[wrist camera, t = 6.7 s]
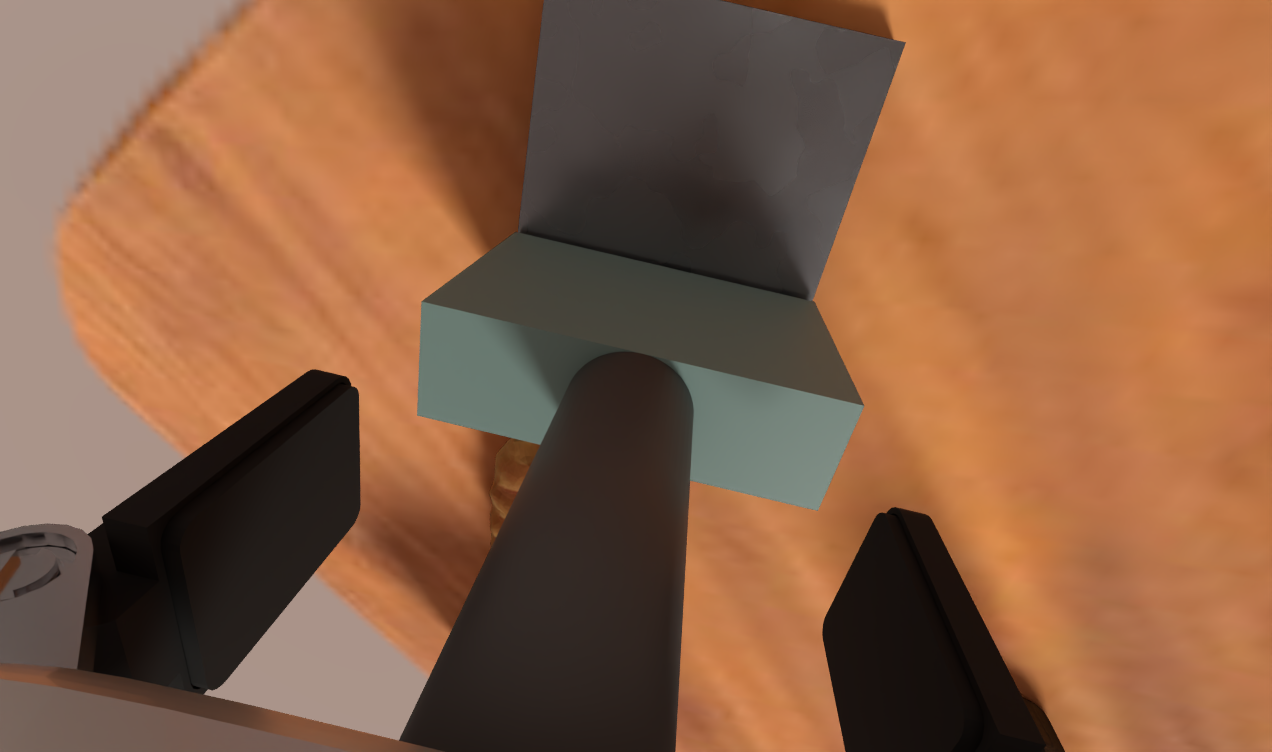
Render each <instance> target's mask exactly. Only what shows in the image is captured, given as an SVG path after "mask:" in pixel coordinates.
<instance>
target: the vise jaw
mask: <svg viewBox="0 0 1272 752" xmlns="http://www.w3.org/2000/svg"><path fill="white" fill-rule="evenodd" d="M863 408H864V404H863V402H862V400H861V398H860V396H859V394H858V392H857V390H856V388H855V385H854V383H853V381H852V379H851V377H850V375H849V373H848V371H847V369H846V367H845V365H844V362H843V360H842V358H841V356H840V354H839V352H838V350H837V348H836V346H835V344H834V342H833V339H832V337H831V335H830V333H829V331H828V329H827V327H826V325H825V323H824V321H823V319H822V316H821V314H820V312H819V310H818V308H817V306H816V304H815V302H813V301H809V300H805V299H800V298H796V297H792V296H787V295H783V294H779V293H775V292H770V291H766V290H762V289H757V288H753V287H749V286H745V285H740V284H736V283H732V282H728V281H723V280H719V279H715V278H710V277H706V276H702V275H698V274H693V273H689V272H685V271H681V270H676V269H672V268H668V267H663V266H659V265H655V264H651V263H646V262H642V261H638V260H633V259H629V258H625V257H621V256H616V255H612V254H608V253H604V252H599V251H595V250H591V249H586V248H582V247H578V246H574V245H569V244H565V243H561V242H557V241H552V240H548V239H544V238H539V237H535V236H531V235H527V234H522V233H518V232H515V233H513V234H512V235H511V236H509V237H508V238H507V239H505V240H504V241H503V242H501V243H500V244H499V245H497V246H496V247H494V248H493V249H492V250H490V251H489V252H488V253H486V254H485V255H484V256H482V257H481V258H480V259H478V260H477V261H476V262H474V263H473V264H472V265H470V266H469V267H467V268H466V269H465V270H463V271H462V272H461V273H459V274H458V275H457V276H455V277H454V278H453V279H451V280H450V281H449V282H447V283H446V284H445V285H443V286H442V287H441V288H439V289H438V290H436V291H435V292H434V293H432V294H431V295H430V296H428V297H427V298H426V299H424V300H423V301H422V304H421V330H420V356H419V382H418V408H417V416H422V417H426V418H430V419H434V420H438V421H443V422H447V423H451V424H455V425H459V426H464V427H468V428H472V429H476V430H480V431H485V432H489V433H493V434H497V435H501V436H506V437H510V438H514V439H518V440H522V441H527V442H531V443H535V444H539V445H540V447H539V449H538V451H537V453H536V455H535V457H534V459H533V461H532V463H531V465H530V467H529V470H528V472H527V474H526V476H525V478H524V480H523V482H522V484H521V486H520V488H519V490H518V493H517V495H516V497H515V499H514V501H513V503H512V505H511V507H510V509H509V511H508V513H507V516H506V518H505V520H504V522H503V524H502V526H501V528H500V530H499V532H498V534H497V536H496V539H495V541H494V543H493V545H492V547H491V549H490V551H489V553H488V555H487V557H486V559H485V562H484V564H483V566H482V568H481V570H480V572H479V574H478V576H477V578H476V580H475V582H474V585H473V587H472V589H471V591H470V593H469V595H468V597H467V599H466V601H465V603H464V605H463V608H462V610H461V612H460V614H459V616H458V618H457V620H456V622H455V624H454V626H453V628H452V631H451V633H450V635H449V637H448V639H447V641H446V643H445V645H444V647H443V649H442V652H441V654H440V656H439V658H438V660H437V662H436V664H435V666H434V668H433V670H432V672H431V675H430V677H429V679H428V681H427V683H426V685H425V687H424V689H423V691H422V693H421V695H420V698H419V700H418V702H417V704H416V706H415V708H414V710H413V712H412V714H411V716H410V718H409V721H408V723H407V725H406V727H405V729H404V731H403V733H402V735H401V737H400V740H399V741H402V742H407V743H411V744H415V745H419V746H423V747H427V748H431V749H436V750H440V751H444V752H675V747H676V729H677V710H678V692H679V674H680V655H681V637H682V619H683V600H684V582H685V564H686V545H687V527H688V509H689V490H690V481H695V482H699V483H703V484H707V485H711V486H715V487H720V488H724V489H728V490H732V491H736V492H741V493H745V494H749V495H753V496H757V497H762V498H766V499H770V500H774V501H778V502H783V503H787V504H791V505H795V506H799V507H804V508H808V509H812V510H816V511H818V509H819V507H820V505H821V502H822V500H823V498H824V496H825V493H826V491H827V489H828V487H829V484H830V482H831V480H832V478H833V475H834V473H835V471H836V469H837V466H838V464H839V462H840V460H841V457H842V455H843V453H844V451H845V448H846V446H847V444H848V442H849V439H850V437H851V435H852V432H853V430H854V428H855V426H856V423H857V421H858V419H859V417H860V414H861V412H862V410H863Z"/></svg>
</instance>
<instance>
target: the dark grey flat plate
mask: <svg viewBox="0 0 1272 752" xmlns="http://www.w3.org/2000/svg"><path fill="white" fill-rule="evenodd" d="M905 43H906V42H901V41H897V40H892V39H888V38H884V37H879V36H875V35H871V34H866V33H862V32H857V31H853V30H849V29H844V28H840V27H835V26H831V25H827V24H822V23H818V22H814V21H809V20H805V19H800V18H796V17H792V16H787V15H783V14H778V13H774V12H770V11H765V10H761V9H757V8H752V7H748V6H743V5H739V4H735V3H730V2H726V1H722V0H544V4H543V13H542V22H541V31H540V39H539V48H538V57H537V66H536V75H535V84H534V93H533V102H532V111H531V120H530V129H529V138H528V147H527V156H526V165H525V174H524V183H523V192H522V201H521V209H520V218H519V227H518V233H522V234H527V235H531V236H535V237H539V238H544V239H548V240H552V241H557V242H561V243H565V244H569V245H574V246H578V247H582V248H586V249H591V250H595V251H599V252H604V253H608V254H612V255H616V256H621V257H625V258H629V259H633V260H638V261H642V262H646V263H651V264H655V265H659V266H663V267H668V268H672V269H676V270H681V271H685V272H689V273H693V274H698V275H702V276H706V277H710V278H715V279H719V280H723V281H728V282H732V283H736V284H740V285H745V286H749V287H753V288H757V289H762V290H766V291H770V292H775V293H779V294H783V295H787V296H792V297H796V298H800V299H805V300H809V301H812V300H813V298H814V295H815V292H816V289H817V287H818V284H819V281H820V278H821V276H822V273H823V270H824V267H825V264H826V262H827V259H828V256H829V253H830V251H831V248H832V245H833V242H834V240H835V237H836V234H837V231H838V228H839V226H840V223H841V220H842V217H843V215H844V212H845V209H846V206H847V204H848V201H849V198H850V195H851V193H852V190H853V187H854V184H855V181H856V179H857V176H858V173H859V170H860V168H861V165H862V162H863V159H864V157H865V154H866V151H867V148H868V145H869V143H870V140H871V137H872V134H873V132H874V129H875V126H876V123H877V121H878V118H879V115H880V112H881V109H882V107H883V104H884V101H885V98H886V96H887V93H888V90H889V87H890V85H891V82H892V79H893V76H894V74H895V71H896V68H897V65H898V62H899V60H900V57H901V54H902V51H903V49H904V46H905Z"/></svg>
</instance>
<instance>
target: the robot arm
mask: <svg viewBox="0 0 1272 752" xmlns="http://www.w3.org/2000/svg"><path fill="white" fill-rule="evenodd" d="M359 511H360V438H359V393H358V390H357V388H355V387H352V386H351V383H350V381H349V379H348V378H347V377H345V376H341V375H337V374H333V373H329V372H324V371H320V370H310V371H308V372H306V373H305V374H304V375H302V376H301V377H299V378H298V379H296V380H295V381H294V382H292V383H291V384H289V385H288V386H287V387H285V388H284V389H282V390H281V391H279V392H278V393H277V394H275V395H274V396H272V397H271V398H270V399H268V400H267V401H265V402H264V403H262V404H261V405H260V406H258V407H257V408H255V409H254V410H253V411H251V412H250V413H248V414H247V415H245V416H244V417H243V418H241V419H240V420H238V421H237V422H235V423H234V424H233V425H231V426H230V427H228V428H227V429H226V430H224V431H223V432H221V433H220V434H218V435H217V436H216V437H214V438H213V439H211V440H210V441H209V442H207V443H206V444H204V445H203V446H201V447H200V448H199V449H197V450H196V451H194V452H193V453H192V454H190V455H189V456H187V457H186V458H184V459H183V460H182V461H180V462H179V463H177V464H176V465H175V466H173V467H172V468H171V469H169V470H167V471H166V472H165V473H163V474H162V475H160V476H159V477H158V478H156V479H155V480H153V481H152V482H151V483H149V484H148V485H146V486H145V487H143V488H142V489H141V490H139V491H138V492H136V493H135V494H133V495H132V496H131V497H129V498H128V499H126V500H125V501H123V502H122V503H121V504H119V505H118V506H116V507H115V508H114V509H112V510H111V511H109V512H108V513H106V514H105V515H104V516H103V517H102V520H103V524H101V525H100V526H99V527H97V528H96V529H94V530H93V531H92V532H90V533H89V534H86V533H85V532H84V531H83V530H81V529H78V528H75V527H72V526H69V525H60V524H39V525H29V526H22V527H18V528H14V529H10V530H6V531H2V532H0V752H444V751H440V750H436V749H431V748H427V747H423V746H419V745H415V744H411V743H407V742H402V741H398V740H394V739H390V738H386V737H381V736H377V735H373V734H368V733H365V732H360V731H356V730H352V729H348V728H344V727H340V726H335V725H331V724H327V723H323V722H319V721H314V720H310V719H306V718H302V717H298V716H293V715H289V714H285V713H280V712H277V711H272V710H268V709H264V708H260V707H256V706H252V705H247V704H243V703H239V702H234V701H229V700H225V699H221V698H216V697H211V696H207V695H203V694H204V693H205V692H206V691H207V690H208V689H210V690H215V689H217V688H218V687H220V686H221V685H222V684H223V683H224V682H225V681H226V680H227V679H228V678H229V676H230V675H231V674H232V673H233V672H234V670H235V669H236V668H237V667H238V665H239V664H240V663H241V662H242V661H243V659H244V658H245V657H246V656H247V654H248V653H249V652H250V651H251V650H252V648H253V647H254V646H255V644H256V643H257V642H258V641H259V640H260V638H261V637H262V636H263V635H264V634H265V632H266V631H267V630H268V629H269V627H270V626H271V625H272V624H273V623H274V621H275V620H276V619H277V618H278V616H279V615H280V614H281V613H282V612H283V610H284V609H285V608H286V607H287V605H288V604H289V603H290V602H291V601H292V599H293V598H294V597H295V596H296V594H297V593H298V592H299V591H300V590H301V588H302V587H303V586H304V585H305V583H306V582H307V581H308V580H309V579H310V577H311V576H312V575H313V574H314V572H315V571H316V570H317V569H318V568H319V566H320V565H321V564H322V563H323V561H324V560H325V559H326V558H327V557H328V555H329V554H330V553H331V552H332V550H333V549H334V548H335V547H336V546H337V544H338V543H339V542H340V541H341V539H342V538H343V537H344V536H345V535H346V533H347V532H348V531H349V530H350V528H351V527H352V526H353V524H354V523H355V521H356V519H357V517H358V514H359ZM823 642H824V647H825V652H826V657H827V662H828V667H829V672H830V677H831V682H832V687H833V692H834V697H835V701H836V706H837V711H838V716H839V721H840V726H841V731H842V736H843V741H844V746H845V751H846V752H1046V751H1045V749H1044V748H1045V746H1046V743H1045V741H1044V739H1043V737H1042V735H1041V733H1040V731H1039V729H1038V727H1037V726H1036V724H1035V722H1034V720H1033V718H1032V716H1031V714H1030V712H1029V710H1028V708H1027V706H1026V704H1025V702H1024V700H1023V698H1022V696H1021V694H1020V692H1019V690H1018V688H1017V686H1016V684H1015V682H1014V680H1013V678H1012V676H1011V674H1010V672H1009V670H1008V669H1007V667H1006V665H1005V663H1004V661H1003V659H1002V657H1001V655H1000V653H999V651H998V649H997V647H996V645H995V643H994V641H993V639H992V637H991V635H990V633H989V631H988V629H987V627H986V625H985V623H984V621H983V619H982V617H981V615H980V614H979V612H978V610H977V608H976V606H975V604H974V602H973V600H972V598H971V596H970V594H969V592H968V590H967V588H966V586H965V584H964V582H963V580H962V578H961V576H960V574H959V572H958V570H957V568H956V566H955V564H954V562H953V560H952V558H951V557H950V555H949V553H948V551H947V549H946V547H945V545H944V543H943V541H942V539H941V537H940V535H939V533H938V531H937V529H936V527H935V525H934V523H933V521H932V519H931V518H930V517H929V516H928V515H926V514H922V513H918V512H913V511H909V510H905V509H901V508H897V507H894V508H891V509H890V510H889V511H888V512H887V513H879V514H878V515H877V516H876V518H875V519H874V521H873V523H872V525H871V527H870V529H869V531H868V533H867V535H866V537H865V539H864V541H863V543H862V545H861V547H860V549H859V551H858V553H857V555H856V557H855V559H854V561H853V563H852V565H851V567H850V569H849V571H848V573H847V575H846V577H845V579H844V581H843V583H842V585H841V587H840V589H839V591H838V593H837V595H836V597H835V599H834V601H833V603H832V605H831V606H830V608H829V610H828V612H827V614H826V617H825V619H824V623H823Z"/></svg>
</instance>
